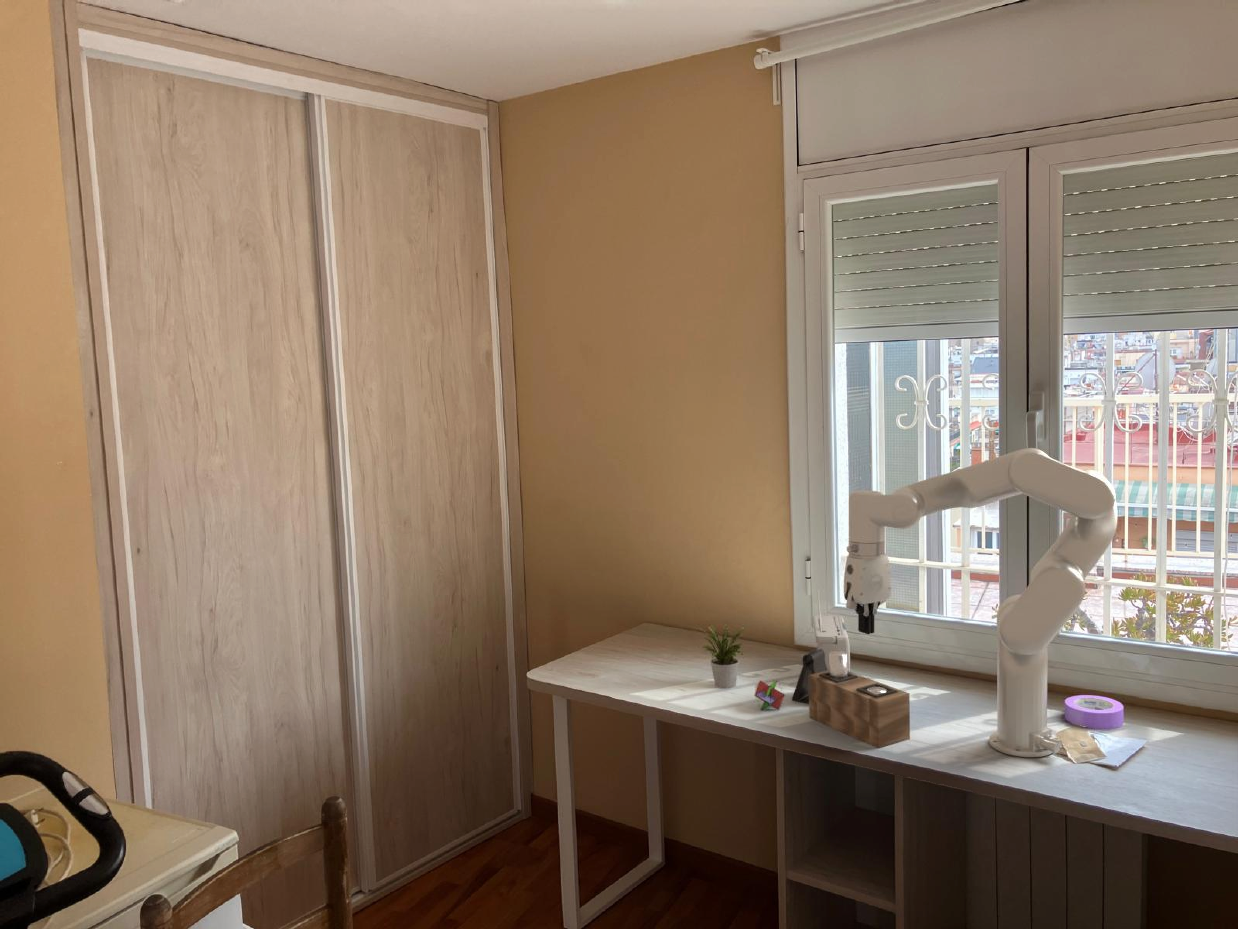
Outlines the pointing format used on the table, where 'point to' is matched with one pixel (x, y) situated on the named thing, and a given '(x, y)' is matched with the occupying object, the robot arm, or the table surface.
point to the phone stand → (811, 665)
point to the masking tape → (1094, 712)
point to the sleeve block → (860, 708)
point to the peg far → (838, 665)
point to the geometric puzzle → (769, 694)
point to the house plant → (724, 658)
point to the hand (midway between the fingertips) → (866, 632)
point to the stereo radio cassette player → (831, 635)
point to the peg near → (876, 690)
